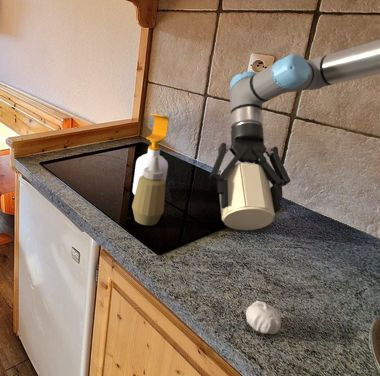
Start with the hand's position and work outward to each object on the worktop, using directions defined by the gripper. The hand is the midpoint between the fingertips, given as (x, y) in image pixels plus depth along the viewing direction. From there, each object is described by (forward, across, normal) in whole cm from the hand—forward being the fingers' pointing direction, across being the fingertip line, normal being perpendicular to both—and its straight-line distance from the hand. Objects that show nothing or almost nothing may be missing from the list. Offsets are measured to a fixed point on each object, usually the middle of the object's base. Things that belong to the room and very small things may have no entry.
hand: (250, 209), depth 98 cm
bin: (+2, 0, -2) cm, 3 cm away
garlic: (+29, +6, +18) cm, 34 cm away
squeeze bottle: (+4, +24, -7) cm, 25 cm away
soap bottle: (-8, +22, -19) cm, 30 cm away
